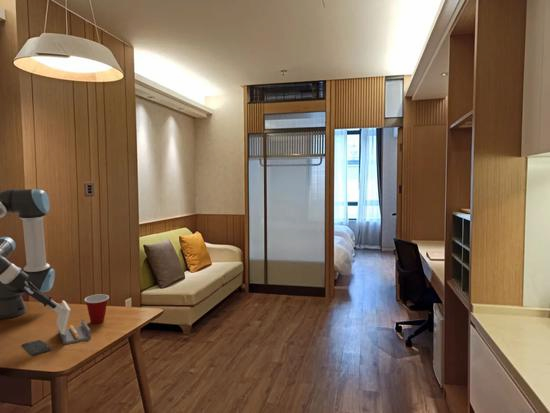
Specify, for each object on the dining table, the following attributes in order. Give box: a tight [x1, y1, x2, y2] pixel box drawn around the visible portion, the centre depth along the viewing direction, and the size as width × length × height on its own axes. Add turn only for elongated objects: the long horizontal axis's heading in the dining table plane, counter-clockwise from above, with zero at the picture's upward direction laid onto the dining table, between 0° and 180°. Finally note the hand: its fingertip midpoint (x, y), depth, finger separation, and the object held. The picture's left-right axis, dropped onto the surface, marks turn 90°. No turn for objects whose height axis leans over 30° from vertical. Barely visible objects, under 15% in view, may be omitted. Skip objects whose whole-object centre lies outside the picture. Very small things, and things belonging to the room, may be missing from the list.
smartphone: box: [21, 339, 53, 357], centre depth 151 cm, size 7×1×15 cm
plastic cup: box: [84, 293, 110, 325], centre depth 180 cm, size 11×11×12 cm
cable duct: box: [58, 319, 92, 345], centre depth 163 cm, size 16×10×4 cm, turn 37°
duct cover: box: [55, 300, 72, 334], centre depth 160 cm, size 16×10×1 cm
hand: (61, 311), depth 159 cm, fingers closed
